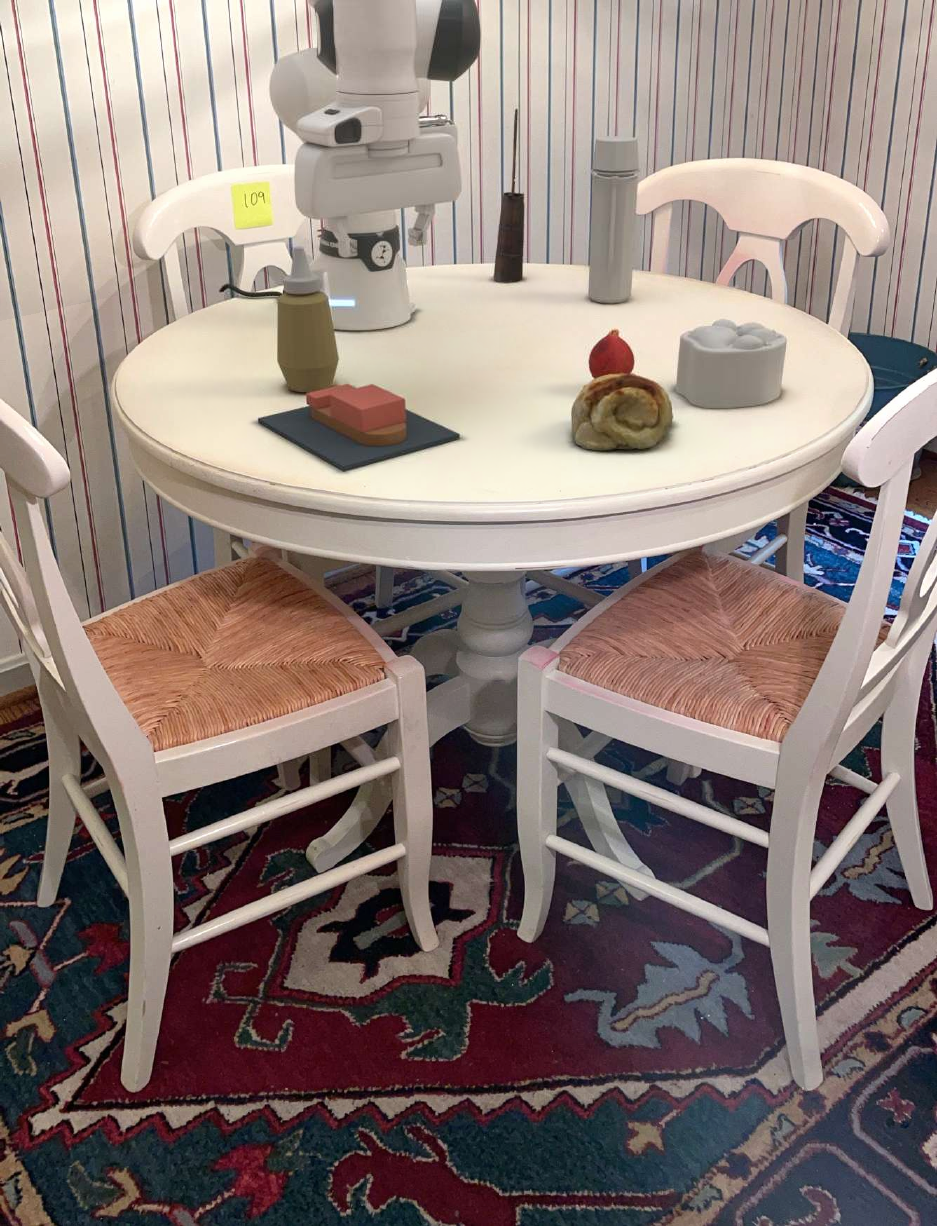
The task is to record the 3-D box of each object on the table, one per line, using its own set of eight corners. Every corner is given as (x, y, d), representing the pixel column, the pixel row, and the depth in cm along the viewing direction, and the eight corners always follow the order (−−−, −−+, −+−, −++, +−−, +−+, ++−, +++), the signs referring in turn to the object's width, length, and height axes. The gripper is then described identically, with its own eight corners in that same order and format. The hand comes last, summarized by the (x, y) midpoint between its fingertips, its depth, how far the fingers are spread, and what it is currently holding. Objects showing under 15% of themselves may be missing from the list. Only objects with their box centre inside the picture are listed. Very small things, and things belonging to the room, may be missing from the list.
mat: (258, 422, 136) (257, 418, 136) (368, 395, 145) (367, 391, 144) (343, 471, 122) (343, 466, 122) (459, 438, 131) (459, 433, 130)
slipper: (302, 413, 137) (299, 379, 135) (344, 403, 140) (341, 370, 138) (373, 450, 126) (371, 414, 124) (416, 438, 129) (415, 402, 127)
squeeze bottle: (350, 380, 150) (341, 243, 141) (324, 399, 144) (313, 256, 135) (296, 375, 153) (284, 239, 144) (268, 393, 146) (254, 252, 137)
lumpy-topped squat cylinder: (668, 385, 147) (673, 319, 143) (759, 377, 149) (767, 312, 145) (699, 410, 138) (706, 341, 134) (796, 402, 140) (805, 334, 136)
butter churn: (519, 289, 194) (521, 113, 180) (472, 283, 198) (470, 111, 184) (543, 278, 200) (547, 108, 187) (497, 272, 205) (497, 106, 191)
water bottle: (586, 293, 190) (593, 135, 178) (633, 294, 189) (642, 135, 177) (584, 307, 182) (590, 143, 170) (632, 308, 181) (642, 143, 169)
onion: (603, 399, 142) (606, 337, 138) (579, 387, 147) (581, 326, 143) (640, 392, 144) (644, 331, 141) (615, 380, 149) (619, 320, 145)
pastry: (597, 461, 124) (601, 392, 120) (546, 426, 134) (548, 361, 130) (704, 442, 129) (710, 374, 125) (647, 409, 139) (651, 346, 135)
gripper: (440, 110, 128) (441, 234, 135) (282, 123, 118) (292, 256, 125) (473, 115, 124) (472, 243, 131) (312, 130, 113) (320, 268, 120)
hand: (383, 250), depth 128 cm, fingers open, 8 cm apart
